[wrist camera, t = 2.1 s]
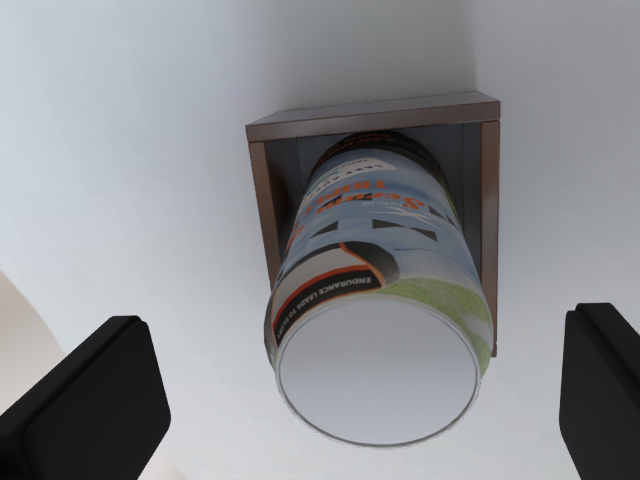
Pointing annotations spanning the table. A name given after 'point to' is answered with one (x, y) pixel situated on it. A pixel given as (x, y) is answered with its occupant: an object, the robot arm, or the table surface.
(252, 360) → the table surface
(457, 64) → the table surface
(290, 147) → the can holder
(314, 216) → the beverage can
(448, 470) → the table surface
